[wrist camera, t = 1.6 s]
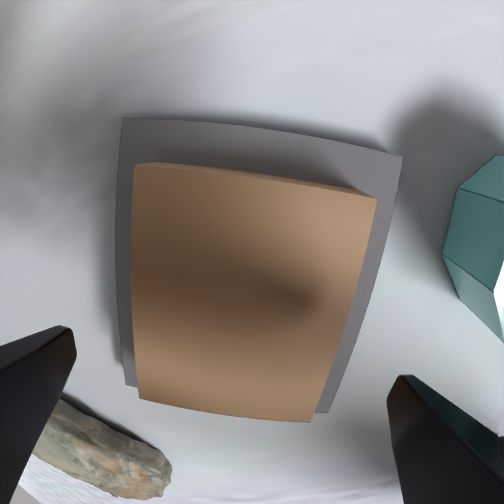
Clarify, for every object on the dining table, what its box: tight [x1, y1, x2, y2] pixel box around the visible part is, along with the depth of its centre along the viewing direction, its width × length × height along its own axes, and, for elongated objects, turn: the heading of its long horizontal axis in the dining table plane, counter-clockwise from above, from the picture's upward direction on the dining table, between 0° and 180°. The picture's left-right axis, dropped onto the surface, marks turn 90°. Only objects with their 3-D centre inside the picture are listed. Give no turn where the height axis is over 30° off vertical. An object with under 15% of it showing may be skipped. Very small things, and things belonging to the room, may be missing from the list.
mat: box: [115, 118, 403, 413], centre depth 12 cm, size 12×10×1 cm
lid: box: [131, 162, 377, 423], centre depth 11 cm, size 9×7×2 cm
